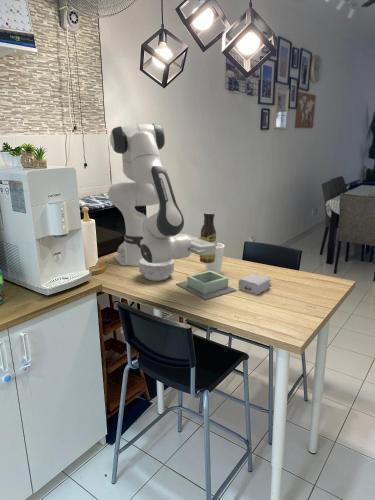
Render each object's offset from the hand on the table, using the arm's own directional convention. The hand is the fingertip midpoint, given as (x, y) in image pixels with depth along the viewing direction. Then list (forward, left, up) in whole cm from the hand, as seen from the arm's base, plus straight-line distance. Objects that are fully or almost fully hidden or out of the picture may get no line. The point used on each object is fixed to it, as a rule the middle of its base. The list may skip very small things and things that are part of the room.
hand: (209, 241), depth 154 cm
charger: (+12, +16, -20) cm, 28 cm away
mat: (0, -2, -19) cm, 20 cm away
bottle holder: (0, -1, -19) cm, 20 cm away
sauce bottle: (0, -1, -9) cm, 9 cm away
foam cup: (-12, +12, -20) cm, 26 cm away
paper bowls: (-22, -12, -20) cm, 32 cm away
